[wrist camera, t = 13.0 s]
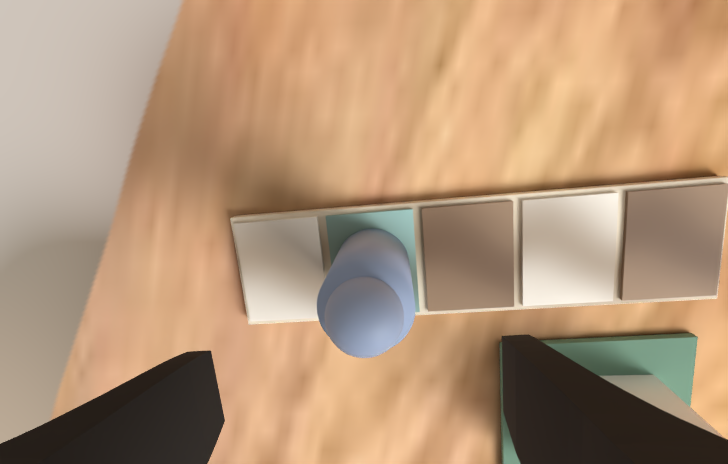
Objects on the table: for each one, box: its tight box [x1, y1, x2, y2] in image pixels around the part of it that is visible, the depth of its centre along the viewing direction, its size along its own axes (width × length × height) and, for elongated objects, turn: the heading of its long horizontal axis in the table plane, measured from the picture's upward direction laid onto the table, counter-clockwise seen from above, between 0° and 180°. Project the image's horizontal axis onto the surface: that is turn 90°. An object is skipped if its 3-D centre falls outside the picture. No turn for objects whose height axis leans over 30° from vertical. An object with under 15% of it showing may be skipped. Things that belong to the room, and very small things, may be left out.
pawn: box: [317, 228, 415, 358], centre depth 15 cm, size 3×3×7 cm
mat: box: [500, 333, 698, 464], centre depth 20 cm, size 9×9×1 cm
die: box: [600, 375, 724, 438], centre depth 17 cm, size 5×5×5 cm
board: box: [230, 176, 728, 325], centre depth 18 cm, size 6×22×1 cm, turn 96°
